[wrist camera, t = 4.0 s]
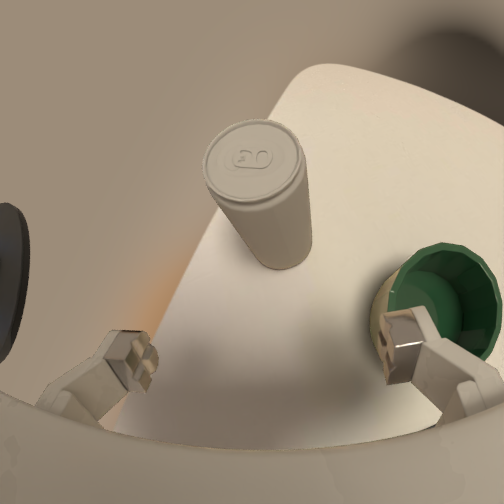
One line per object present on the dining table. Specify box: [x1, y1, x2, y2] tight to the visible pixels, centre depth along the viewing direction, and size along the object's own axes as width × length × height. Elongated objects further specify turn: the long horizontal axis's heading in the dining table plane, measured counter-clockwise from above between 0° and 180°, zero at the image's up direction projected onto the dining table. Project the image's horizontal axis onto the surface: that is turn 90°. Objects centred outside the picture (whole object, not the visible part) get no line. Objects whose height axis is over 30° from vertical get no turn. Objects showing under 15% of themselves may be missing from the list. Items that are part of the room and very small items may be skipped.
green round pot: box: [369, 242, 502, 361], centre depth 17 cm, size 8×8×6 cm
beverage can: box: [202, 119, 312, 269], centre depth 18 cm, size 5×5×12 cm
